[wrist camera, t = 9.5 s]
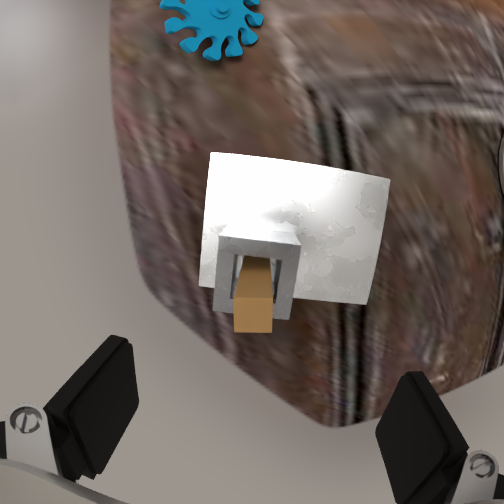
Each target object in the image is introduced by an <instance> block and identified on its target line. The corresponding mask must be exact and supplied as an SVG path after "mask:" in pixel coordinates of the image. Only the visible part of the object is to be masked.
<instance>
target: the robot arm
mask: <svg viewBox="0 0 504 504" xmlns="http://www.w3.org/2000/svg"><path fill="white" fill-rule="evenodd" d="M499 174H500V182H501V186H502V191H503V194H504V135H503V138H502V141H501V145H500V151H499ZM138 404H139V397H138V390H137V382H136V374H135V365H134V356H133V347H132V344H130V343H129V342H128V340H127V339H126V338H123V337H119V336H116V335H110V336H109V337H108V338H107V339H106V340H105V341H104V342H103V343H102V344H101V345H100V347H99V348H98V349H97V350H96V351H95V352H94V353H93V354H92V355H91V356H90V357H89V358H88V359H87V360H86V361H85V363H84V364H83V365H82V366H80V368H79V369H78V370H77V371H76V372H75V373H74V374H73V375H72V376H71V378H69V380H68V381H67V382H66V383H65V384H64V385H63V386H62V387H61V388H60V389H59V391H58V392H57V393H56V394H55V395H54V396H53V397H52V399H51V400H50V401H49V402H48V403H47V404H46V405H45V407H44V408H43V409H42V408H41V407H39V406H37V405H34V404H31V403H22V404H18V405H16V406H14V407H13V408H11V410H9V412H8V414H7V415H6V420H5V421H2V422H0V504H128V503H125V502H122V501H119V500H116V499H114V498H111V497H108V496H105V495H103V494H101V493H98V492H96V491H93V490H91V489H88V488H86V487H83V486H82V485H79V482H78V480H79V479H80V477H81V475H84V476H86V477H88V478H90V479H93V480H94V478H95V476H96V474H101V473H102V472H103V470H104V469H105V467H106V465H107V463H108V461H109V459H110V457H111V455H112V454H113V452H114V450H115V448H116V446H117V444H118V443H119V441H120V439H121V437H122V435H123V434H124V432H125V430H126V428H127V426H128V424H129V423H130V421H131V419H132V417H133V415H134V414H135V412H136V410H137V408H138ZM375 433H376V438H377V441H378V444H379V448H380V451H381V454H382V457H383V460H384V463H385V467H386V470H387V474H388V477H389V480H390V484H391V487H392V491H393V495H394V498H395V501H396V503H397V504H504V475H501V474H499V473H498V471H499V466H498V463H497V461H496V459H495V457H494V456H492V455H491V454H490V453H488V452H486V451H482V450H478V451H474V452H471V453H470V454H469V455H468V454H467V452H466V451H467V450H468V449H469V446H468V444H467V443H466V441H465V439H464V437H463V436H462V434H461V432H460V431H459V429H458V427H457V425H456V424H455V422H454V420H453V419H452V417H451V415H450V414H449V412H448V410H447V409H446V408H445V406H444V404H443V402H442V401H441V399H440V398H439V396H438V394H437V393H436V391H435V390H434V388H433V387H432V385H431V383H430V382H429V380H428V379H427V377H426V376H425V374H424V373H423V372H421V371H410V372H407V373H406V374H405V375H404V376H402V377H401V378H400V380H399V382H398V384H397V387H396V389H395V391H394V393H393V395H392V397H391V399H390V401H389V404H388V406H387V408H386V410H385V412H384V414H383V415H382V417H381V419H380V421H379V423H378V425H377V427H376V432H375Z"/></svg>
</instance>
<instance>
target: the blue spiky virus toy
mask: <svg viewBox="0 0 504 504" xmlns="http://www.w3.org/2000/svg"><path fill="white" fill-rule="evenodd" d="M243 1H244V2H245V3H246V4H247V5H249V6H253V5H257V4H259V0H185V4H181V3H180V2H179V0H162V1H161V3H160V8H162V9H165V10H167V9H172V10H176V11H178V12H180V13H182V14H183V15H184V16H185V17H186V18H185V19H184V20H183V21H181V20H180V19H179V18H176V17H173V18H170V19H168V20H167V21H165V30H166V33H168V34H172V33H175V32H177V31H179V30H180V29H185V28H186V29H193V30H195V31H196V33H197V37H196V38H193V37H190V38H187V39H184V40H182V41H181V42H180V46H181V48H182V49H183V50H184V51H185V52H186V53H191V52H194V51H196V50H197V49H198V46H199V44H200V43H201V42H202V40H204V39H205V38H207V37H208V38H211V39H212V41H213V45H212V46H211V47H210V48H208V49H206V50H205V51H204V52H203V57H204V58H205V59H207V60H210V61H216V60H219V59H220V58H221V45H222V42H223V41H224V39H225V38H227V39H228V40H229V45H228V46H227V48H226V50H225V54H226V56H227V57H233V56H239V55H242V54H243V50H242V48H241V46H240V44H239V41H238V30H240V31H241V41H242V43H243V44H244V45H248V44H252V43H254V42H255V41H256V40H257V39H258V37H257V35H256V34H255V33H254V32H252V31H251V30H250V29H249V27H248V26H247V24H246V21H245V18H244V17H246V18H247V20H248V22H249V24H250V25H251V26H253V27H255V26H259V25H261V23H262V21H263V16H262V15H261V14H259V13H254V12H252V11H250V10H249V9H247V8H246V7H245V6H244V4H243Z"/></svg>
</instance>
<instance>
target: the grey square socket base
mask: <svg viewBox="0 0 504 504" xmlns="http://www.w3.org/2000/svg"><path fill="white" fill-rule="evenodd" d="M389 186H390V179H387V178H382V177H377V176H373V175H368V174H363V173H358V172H353V171H348V170H342V169H337V168H331V167H326V166H320V165H313V164H307V163H301V162H294V161H287V160H279V159H272V158H264V157H255V156H246V155H236V154H226V153H214V152H211V157H210V166H209V175H208V184H207V193H206V203H205V214H204V225H203V236H202V249H201V262H200V276H199V286H204V287H211V288H214V300H213V311H218V312H226V313H233V314H234V299H233V297H234V293H235V290H236V286H237V282H238V278H239V274H240V270H241V266H242V262H243V258H244V255H246V256H254V257H263V258H270V264H271V277H272V291H273V315H272V318H275V319H284V320H289V316H290V311H291V305H292V300H293V298H301V299H311V300H321V301H331V302H342V303H353V304H365V305H366V304H367V300H368V296H369V292H370V288H371V284H372V280H373V275H374V271H375V266H376V262H377V257H378V252H379V247H380V242H381V237H382V231H383V225H384V220H385V214H386V207H387V201H388V194H389Z"/></svg>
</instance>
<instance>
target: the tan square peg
mask: <svg viewBox="0 0 504 504" xmlns="http://www.w3.org/2000/svg"><path fill="white" fill-rule="evenodd" d="M233 299H234V332H255V333H272V315H273V291H272V277H271V264H270V258H263V257H254V256H246V255H244V258H243V262H242V266H241V270H240V274H239V278H238V282H237V286H236V290H235V293H234V297H233Z"/></svg>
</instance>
